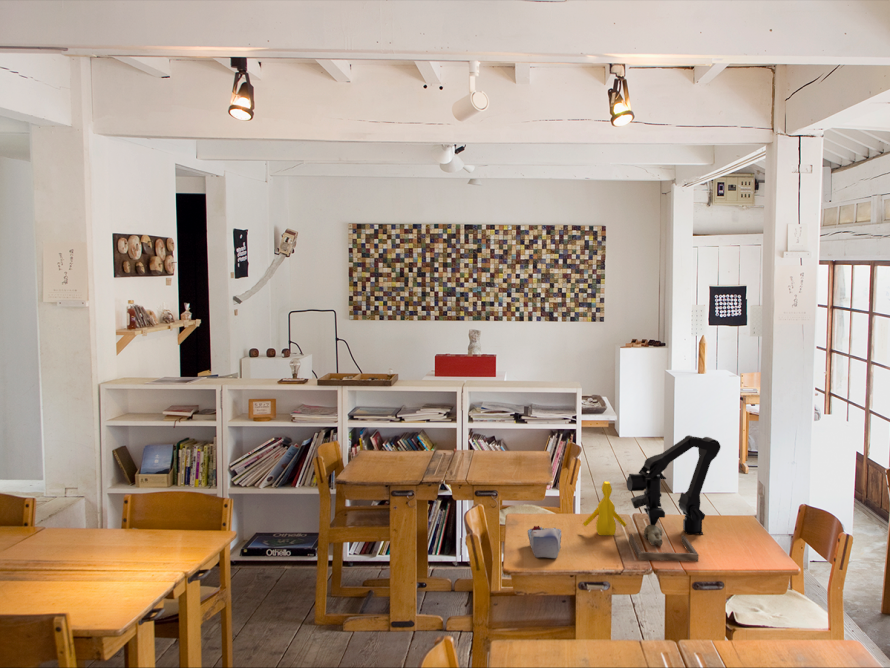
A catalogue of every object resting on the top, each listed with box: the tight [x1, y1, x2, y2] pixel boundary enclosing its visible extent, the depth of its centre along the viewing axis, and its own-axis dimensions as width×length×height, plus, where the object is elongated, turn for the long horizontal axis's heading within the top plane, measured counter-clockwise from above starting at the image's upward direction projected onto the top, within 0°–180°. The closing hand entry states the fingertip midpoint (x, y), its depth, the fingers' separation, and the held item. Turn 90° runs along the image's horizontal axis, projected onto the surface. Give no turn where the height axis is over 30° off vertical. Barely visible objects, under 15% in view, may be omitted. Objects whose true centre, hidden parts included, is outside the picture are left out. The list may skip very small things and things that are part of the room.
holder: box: [628, 533, 699, 562], centre depth 284 cm, size 21×21×2 cm
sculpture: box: [643, 524, 663, 547], centre depth 294 cm, size 7×5×15 cm
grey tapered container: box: [527, 525, 562, 559], centre depth 283 cm, size 13×11×20 cm
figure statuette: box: [582, 481, 627, 536], centre depth 302 cm, size 18×8×22 cm, turn 88°
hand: (652, 527), depth 302 cm, fingers closed
